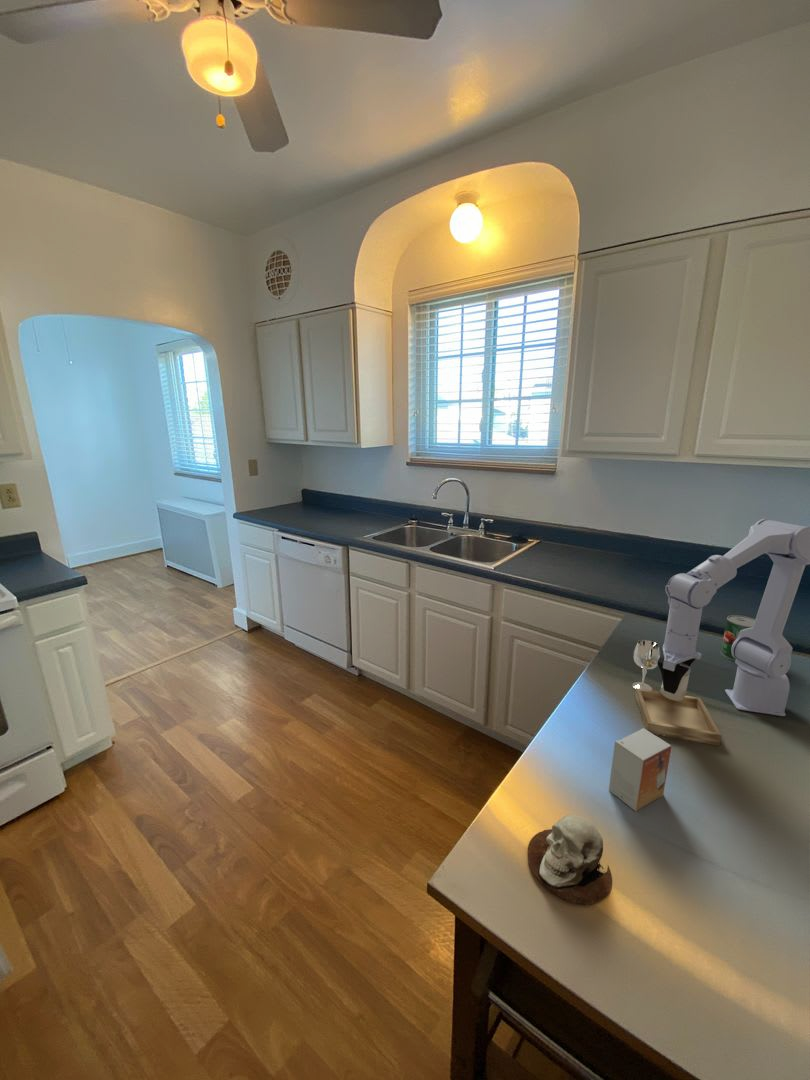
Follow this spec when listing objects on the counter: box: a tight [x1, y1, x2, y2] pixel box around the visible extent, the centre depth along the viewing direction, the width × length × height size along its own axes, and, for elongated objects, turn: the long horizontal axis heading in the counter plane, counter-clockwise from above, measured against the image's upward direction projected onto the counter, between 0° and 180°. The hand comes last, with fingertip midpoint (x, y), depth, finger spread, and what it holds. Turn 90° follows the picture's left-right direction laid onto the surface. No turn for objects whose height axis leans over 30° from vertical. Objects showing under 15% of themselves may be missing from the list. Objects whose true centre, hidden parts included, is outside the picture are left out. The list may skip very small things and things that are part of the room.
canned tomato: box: [720, 614, 756, 662], centre depth 126 cm, size 8×8×11 cm
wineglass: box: [631, 639, 661, 691], centre depth 111 cm, size 6×6×12 cm
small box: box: [608, 727, 672, 812], centre depth 79 cm, size 8×6×10 cm
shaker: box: [660, 662, 692, 701], centre depth 97 cm, size 5×5×7 cm
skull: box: [526, 813, 613, 906], centre depth 67 cm, size 12×10×10 cm
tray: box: [634, 688, 722, 746], centre depth 99 cm, size 14×14×2 cm
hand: (673, 686), depth 97 cm, fingers closed on shaker, 5 cm apart
